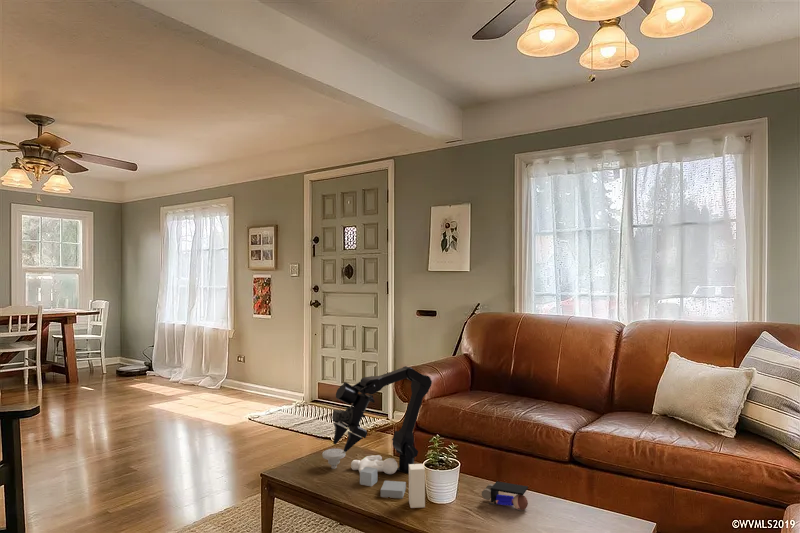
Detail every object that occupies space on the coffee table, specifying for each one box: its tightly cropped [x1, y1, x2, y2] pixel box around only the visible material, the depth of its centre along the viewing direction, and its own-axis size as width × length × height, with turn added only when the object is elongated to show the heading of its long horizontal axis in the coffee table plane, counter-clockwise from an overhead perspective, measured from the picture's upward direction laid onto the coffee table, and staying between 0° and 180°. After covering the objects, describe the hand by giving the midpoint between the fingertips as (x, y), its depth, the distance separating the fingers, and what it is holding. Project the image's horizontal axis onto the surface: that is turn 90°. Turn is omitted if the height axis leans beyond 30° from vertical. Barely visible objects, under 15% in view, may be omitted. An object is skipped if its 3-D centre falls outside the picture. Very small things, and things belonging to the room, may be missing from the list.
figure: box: [350, 454, 399, 476], centre depth 203 cm, size 11×6×20 cm
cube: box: [359, 467, 378, 487], centre depth 192 cm, size 5×5×5 cm
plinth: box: [380, 480, 407, 499], centre depth 183 cm, size 8×8×3 cm
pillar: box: [408, 463, 426, 509], centre depth 173 cm, size 5×5×13 cm
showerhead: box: [322, 448, 346, 470], centre depth 207 cm, size 9×7×10 cm
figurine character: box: [481, 480, 529, 511], centre depth 172 cm, size 7×8×15 cm
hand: (339, 447), depth 189 cm, fingers open, 9 cm apart
